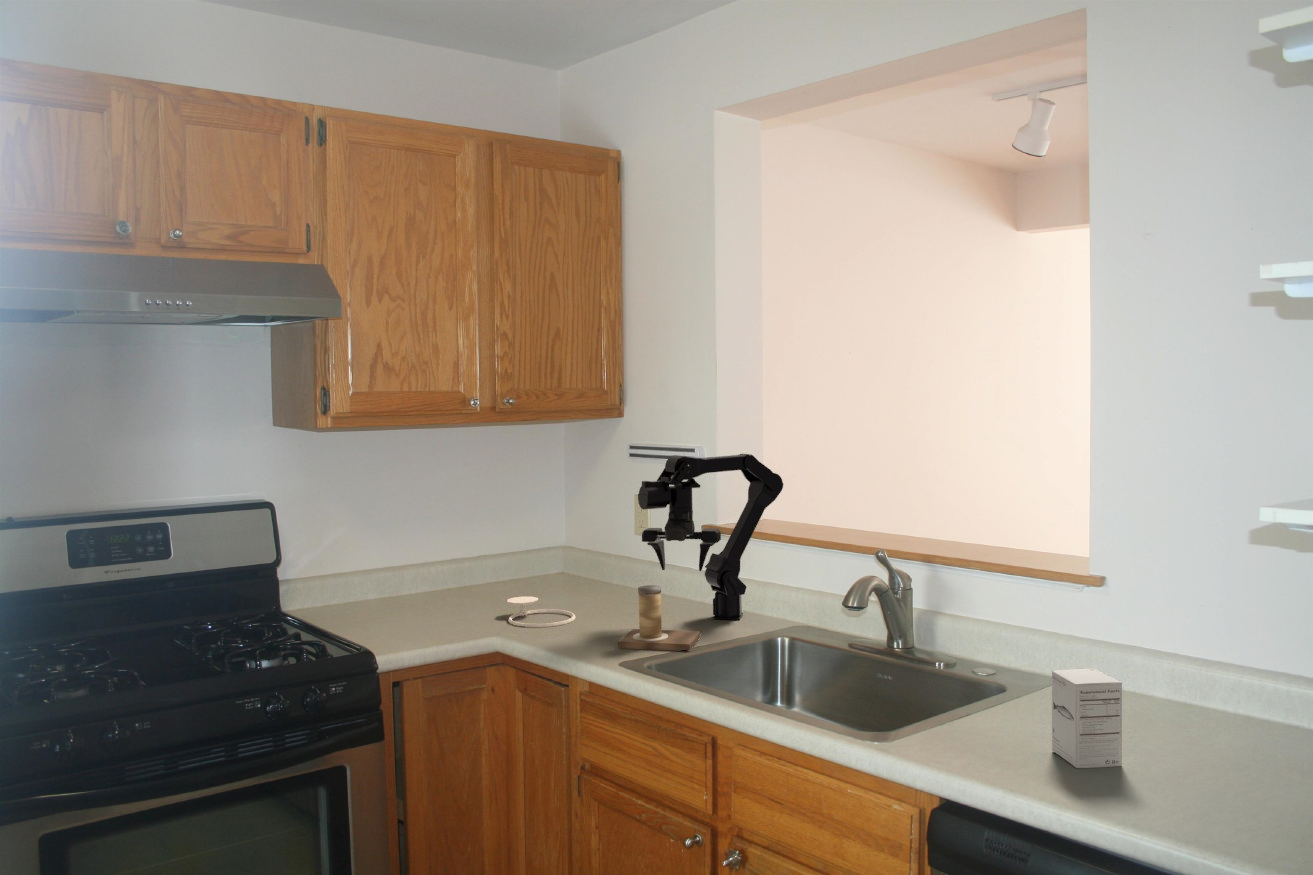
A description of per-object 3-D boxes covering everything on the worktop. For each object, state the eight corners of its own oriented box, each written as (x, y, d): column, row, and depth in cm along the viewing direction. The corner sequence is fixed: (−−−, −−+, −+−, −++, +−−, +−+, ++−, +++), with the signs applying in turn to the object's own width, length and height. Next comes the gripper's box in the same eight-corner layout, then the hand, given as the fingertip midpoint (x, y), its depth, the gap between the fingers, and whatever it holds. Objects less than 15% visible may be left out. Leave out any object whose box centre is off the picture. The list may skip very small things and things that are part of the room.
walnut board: (700, 637, 225) (700, 630, 224) (689, 650, 213) (689, 643, 213) (632, 635, 228) (632, 627, 228) (619, 647, 217) (618, 640, 217)
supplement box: (1050, 751, 149) (1049, 669, 149) (1096, 748, 150) (1096, 667, 149) (1075, 769, 142) (1074, 683, 141) (1123, 766, 142) (1123, 681, 142)
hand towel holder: (534, 614, 234) (486, 602, 249) (535, 632, 235) (486, 619, 249) (589, 603, 246) (539, 592, 261) (589, 620, 246) (539, 608, 261)
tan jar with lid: (661, 632, 223) (660, 585, 222) (662, 638, 218) (661, 589, 217) (639, 633, 223) (637, 585, 222) (639, 639, 217) (638, 590, 217)
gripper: (635, 510, 233) (636, 575, 234) (712, 511, 229) (713, 577, 229) (646, 505, 244) (648, 567, 244) (720, 505, 240) (721, 569, 240)
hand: (681, 570), depth 239 cm, fingers open, 9 cm apart
